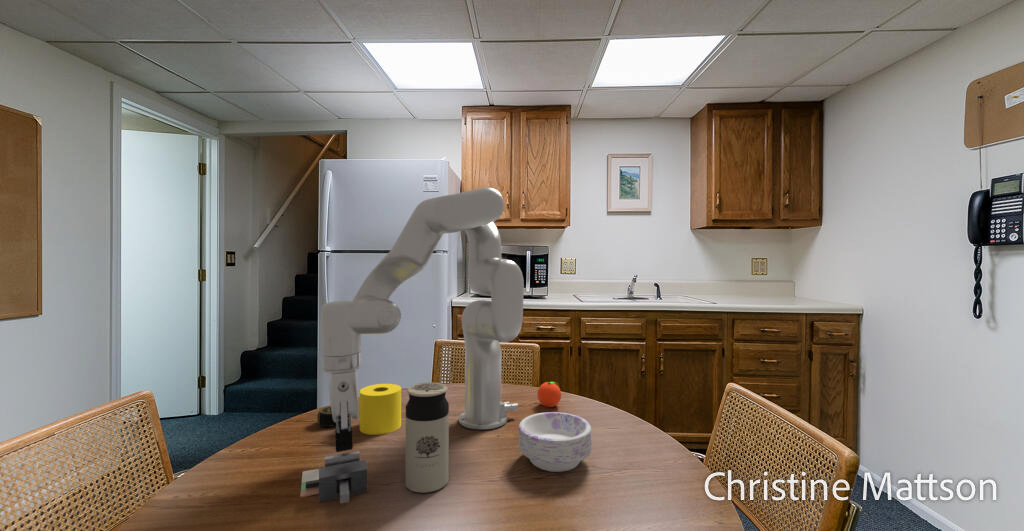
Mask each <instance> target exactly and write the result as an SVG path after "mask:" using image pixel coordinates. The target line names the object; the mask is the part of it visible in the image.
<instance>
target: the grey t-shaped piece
mask: <svg viewBox="0 0 1024 531" xmlns="http://www.w3.org/2000/svg"><path fill="white" fill-rule="evenodd" d="M360 453H361V452H360V450H357V451H351V452H345V453H340V454H339V453H338V454H334V455H333V454H332V455H327V456H324V467H327V466H333V465H338V464H344V463H349V462H355V461H361V460H360V455H361V454H360ZM348 480H350V478H345V479H340V480H336V483H337V482H339V492H340V498H339V502H340V504H345V503H349V502H350V496H349V486H348ZM318 486H319V480H314V481H308V482H306V489H308V488H313V487H318Z"/></svg>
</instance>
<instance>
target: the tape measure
mask: <svg viewBox="0 0 1024 531" xmlns="http://www.w3.org/2000/svg"><path fill="white" fill-rule="evenodd" d="M316 418H317V419H316V420H317V423H318V424H319V425H320V426H322V427H333V426H336V422H334V421H333V417H332V411H331V406H327V407H323V408H322V409H319V411H318V413H317V417H316Z"/></svg>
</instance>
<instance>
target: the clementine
mask: <svg viewBox="0 0 1024 531" xmlns="http://www.w3.org/2000/svg"><path fill="white" fill-rule="evenodd" d="M536 394H537V398H538V401H539V403H540V404H541V405H542V406H544V407H547V408H551V407H555V406H557V405H558V404H559V402H560V401H561V398H562V391H561V389H560V385H559V383H558V382H555V381H546V382H544V383H542V384H540V386H539V387H538V389H537V393H536Z"/></svg>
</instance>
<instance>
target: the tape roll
mask: <svg viewBox="0 0 1024 531" xmlns="http://www.w3.org/2000/svg"><path fill="white" fill-rule="evenodd" d="M401 426H402V386H400V385H398V384H394V383H375V384H371V385H366V386H365V387H363V388H361V389H360V390H359V431H360V432H361V433H362V434H366V435H370V436H373V435H385V434H389V433H392V432H395V431H397V430H399V429H400V428H401Z"/></svg>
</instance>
